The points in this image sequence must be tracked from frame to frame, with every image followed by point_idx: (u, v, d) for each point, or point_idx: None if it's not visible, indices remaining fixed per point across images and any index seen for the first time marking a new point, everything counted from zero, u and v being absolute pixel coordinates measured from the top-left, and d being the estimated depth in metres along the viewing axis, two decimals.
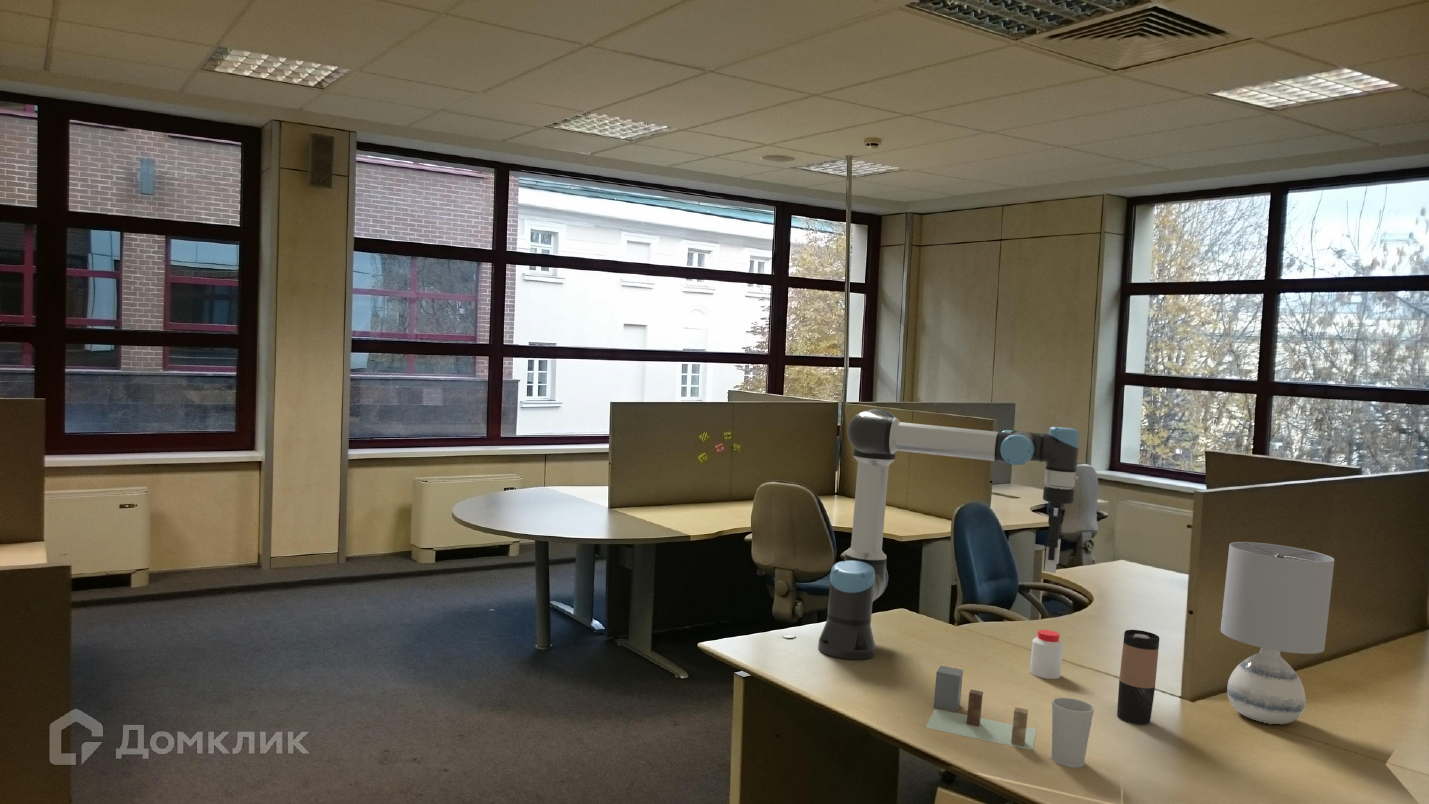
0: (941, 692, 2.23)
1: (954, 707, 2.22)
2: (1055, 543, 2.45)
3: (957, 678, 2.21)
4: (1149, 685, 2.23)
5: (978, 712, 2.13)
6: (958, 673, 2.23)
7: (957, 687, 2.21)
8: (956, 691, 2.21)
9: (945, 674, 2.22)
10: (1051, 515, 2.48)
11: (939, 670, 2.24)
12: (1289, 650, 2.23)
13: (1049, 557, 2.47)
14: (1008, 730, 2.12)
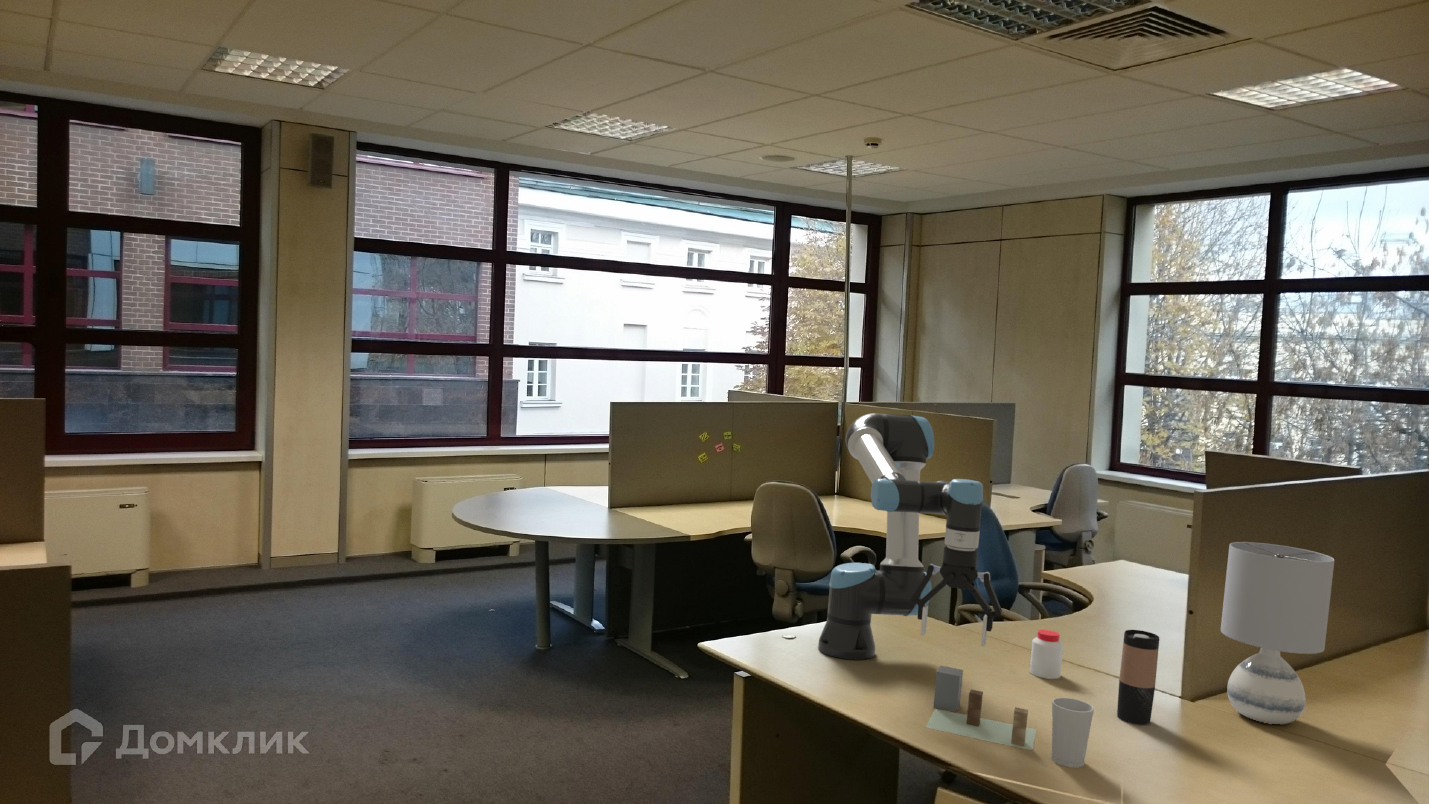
0: (941, 692, 2.23)
1: (954, 707, 2.22)
2: (911, 598, 2.27)
3: (957, 678, 2.21)
4: (1149, 685, 2.23)
5: (978, 712, 2.13)
6: (958, 673, 2.23)
7: (957, 687, 2.21)
8: (956, 691, 2.21)
9: (945, 674, 2.22)
10: None
11: (939, 670, 2.24)
12: (1289, 650, 2.23)
13: None
14: (1008, 730, 2.12)
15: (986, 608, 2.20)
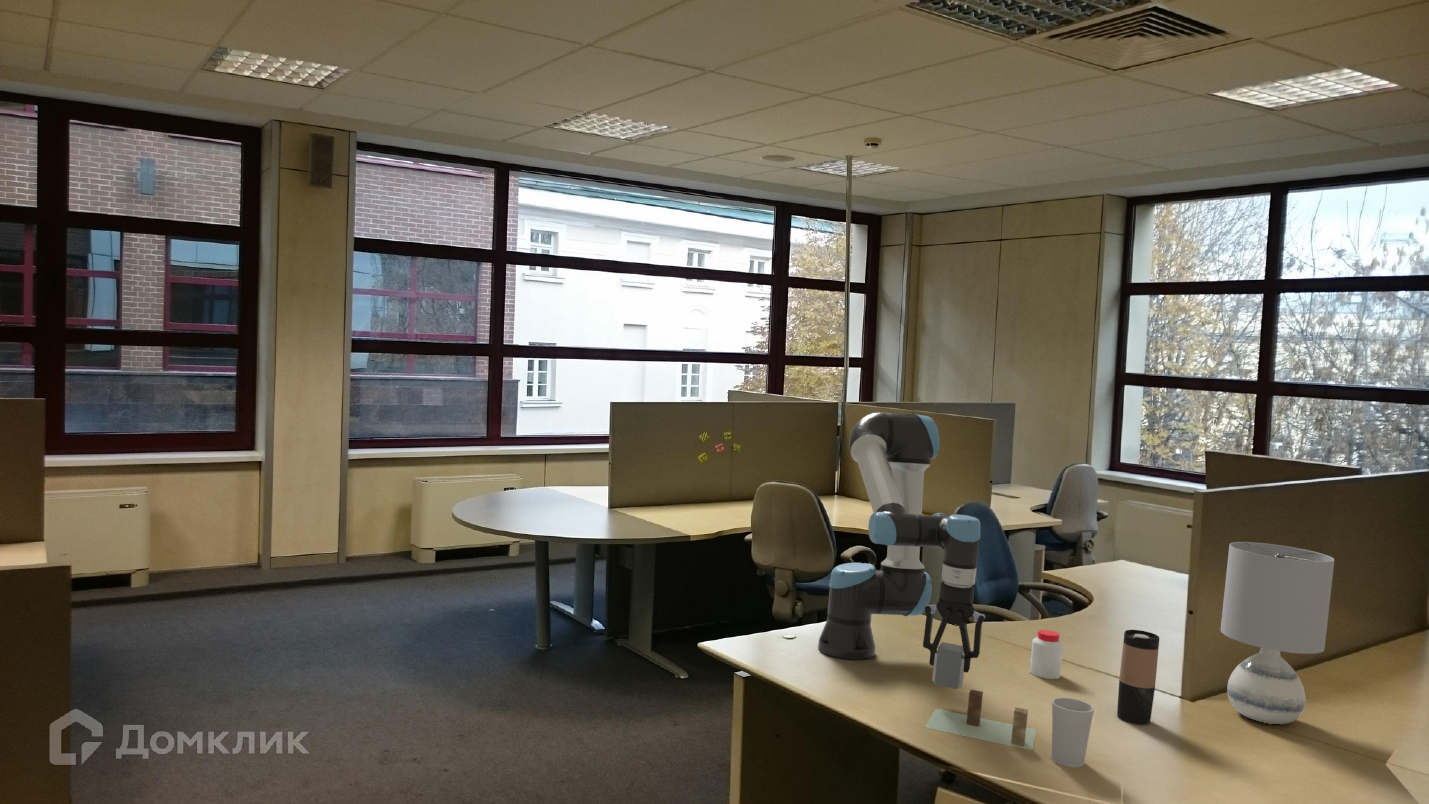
0: (942, 668, 2.23)
1: (955, 683, 2.22)
2: (923, 644, 2.26)
3: (959, 655, 2.21)
4: (1149, 685, 2.23)
5: (978, 712, 2.13)
6: (960, 650, 2.23)
7: (958, 663, 2.22)
8: (957, 667, 2.22)
9: (946, 650, 2.23)
10: None
11: (940, 646, 2.24)
12: (1289, 650, 2.23)
13: None
14: (1008, 730, 2.12)
15: (967, 649, 2.22)
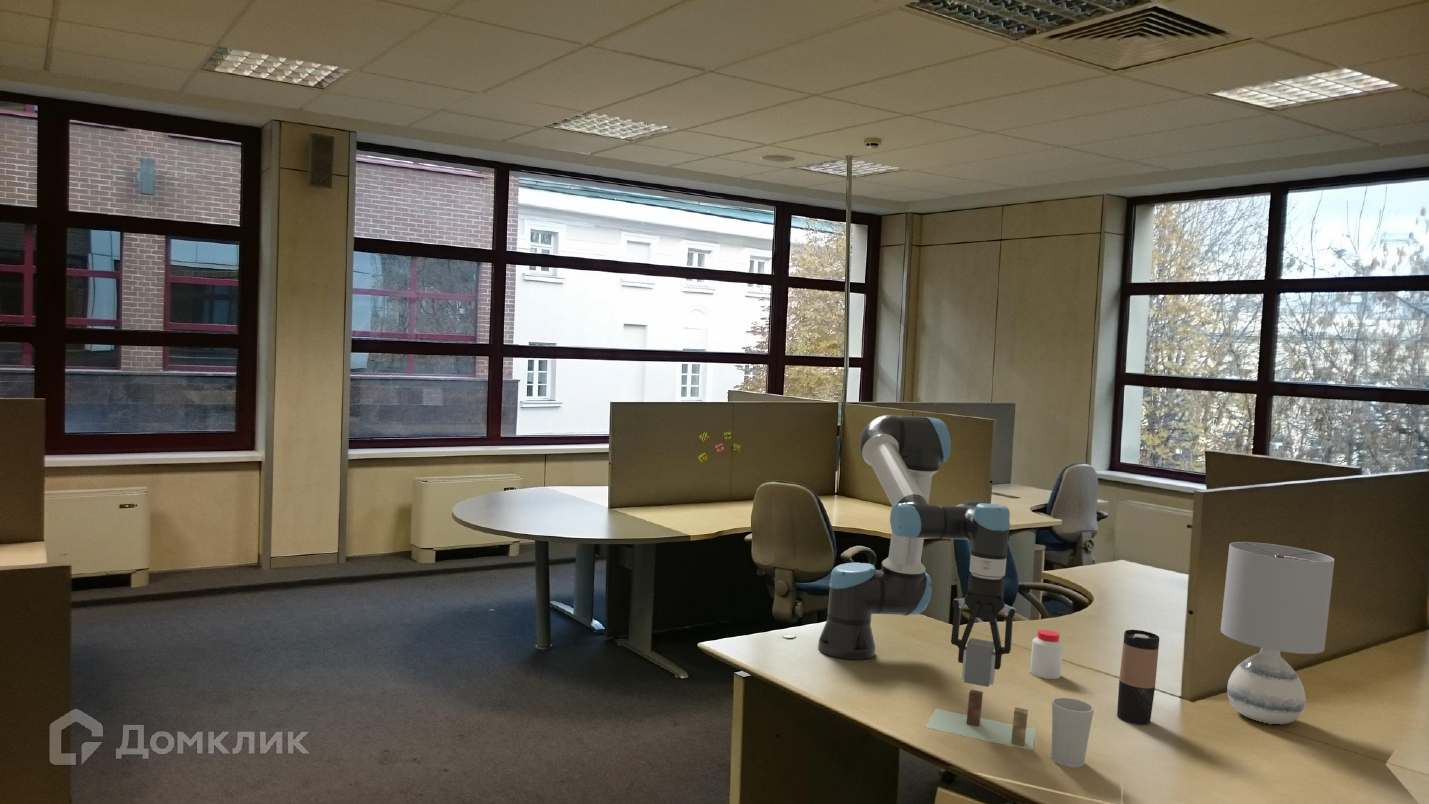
0: (972, 665, 2.12)
1: (986, 680, 2.11)
2: (951, 641, 2.15)
3: (989, 650, 2.11)
4: (1149, 685, 2.23)
5: (978, 712, 2.13)
6: (990, 645, 2.12)
7: (989, 659, 2.11)
8: (988, 663, 2.11)
9: (976, 646, 2.12)
10: None
11: (970, 642, 2.13)
12: (1289, 650, 2.23)
13: None
14: (1008, 730, 2.12)
15: (997, 645, 2.11)
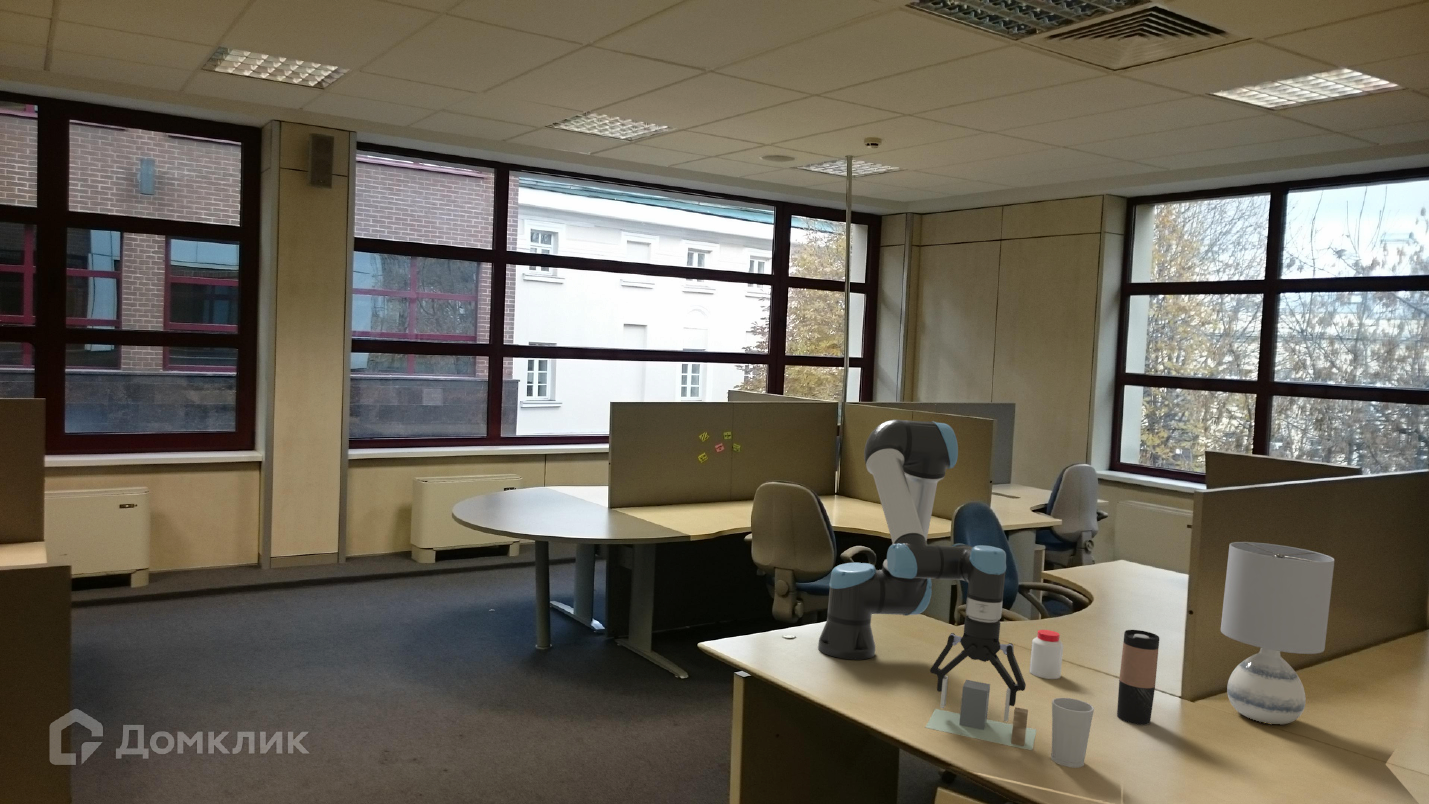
0: (967, 708, 2.13)
1: (981, 723, 2.12)
2: (930, 669, 2.17)
3: (985, 693, 2.11)
4: (1149, 685, 2.23)
5: None
6: (985, 688, 2.13)
7: (984, 702, 2.11)
8: (983, 707, 2.11)
9: (972, 689, 2.12)
10: None
11: (965, 684, 2.14)
12: (1289, 650, 2.23)
13: None
14: (1008, 730, 2.12)
15: (1009, 682, 2.11)
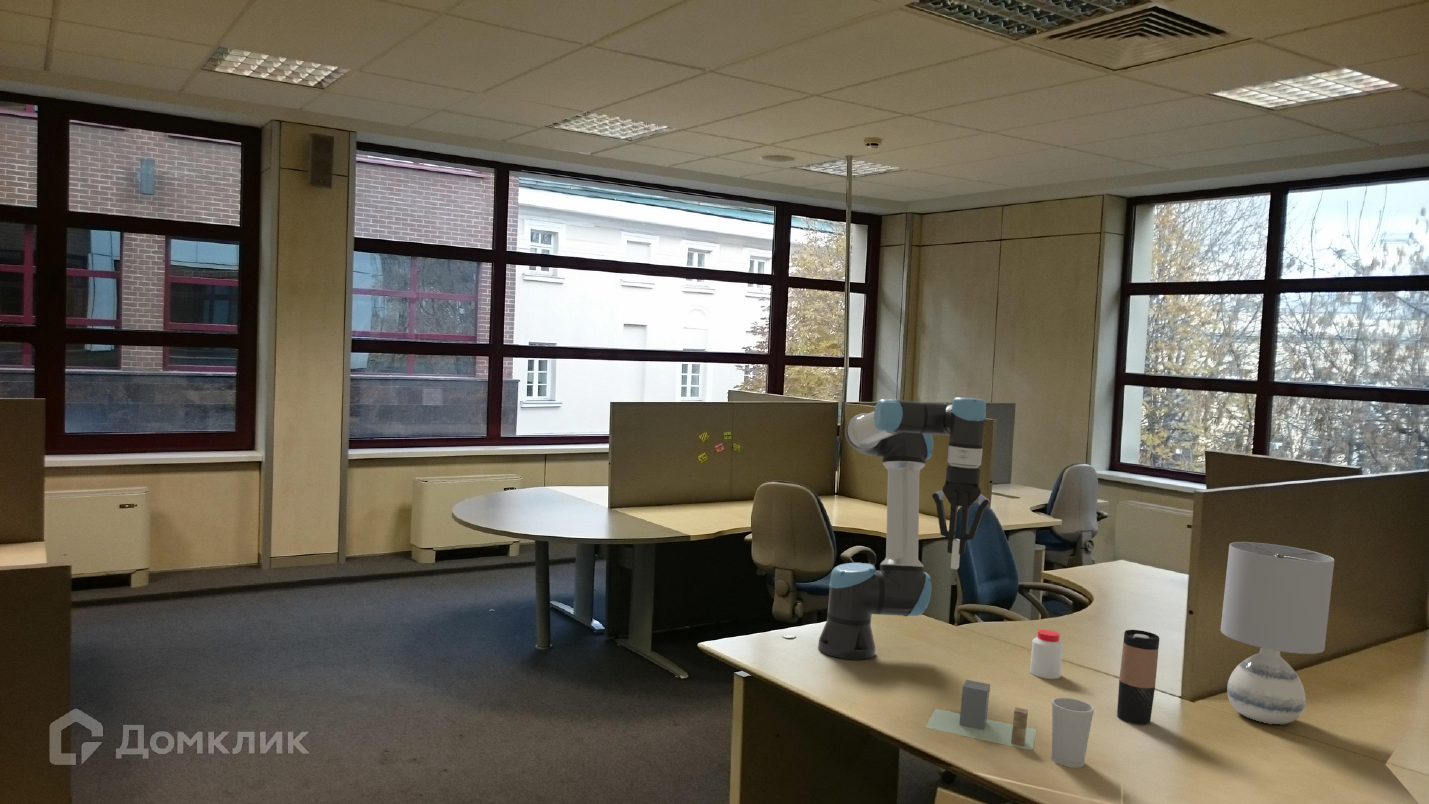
0: (967, 708, 2.13)
1: (981, 723, 2.12)
2: None
3: (985, 693, 2.11)
4: (1149, 685, 2.23)
5: None
6: (985, 688, 2.13)
7: (984, 702, 2.11)
8: (983, 707, 2.11)
9: (972, 689, 2.12)
10: None
11: (965, 684, 2.14)
12: (1289, 650, 2.23)
13: None
14: (1008, 730, 2.12)
15: (964, 531, 2.21)
